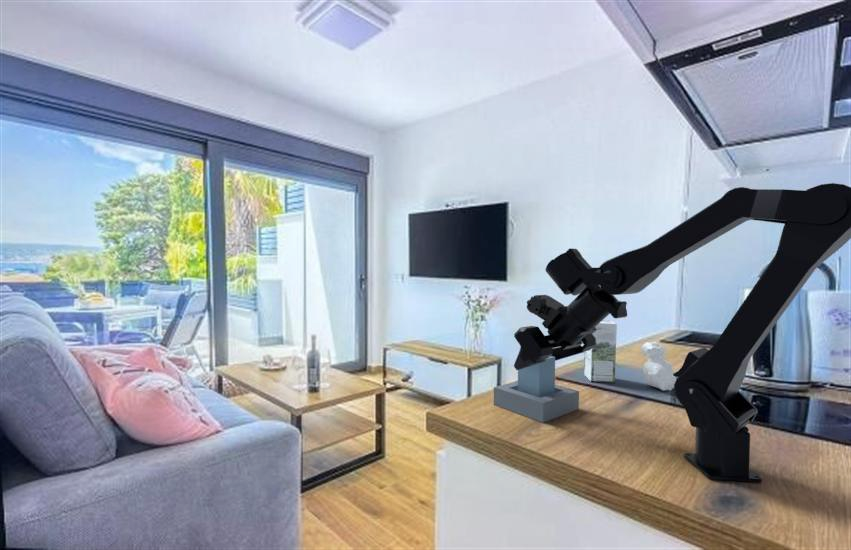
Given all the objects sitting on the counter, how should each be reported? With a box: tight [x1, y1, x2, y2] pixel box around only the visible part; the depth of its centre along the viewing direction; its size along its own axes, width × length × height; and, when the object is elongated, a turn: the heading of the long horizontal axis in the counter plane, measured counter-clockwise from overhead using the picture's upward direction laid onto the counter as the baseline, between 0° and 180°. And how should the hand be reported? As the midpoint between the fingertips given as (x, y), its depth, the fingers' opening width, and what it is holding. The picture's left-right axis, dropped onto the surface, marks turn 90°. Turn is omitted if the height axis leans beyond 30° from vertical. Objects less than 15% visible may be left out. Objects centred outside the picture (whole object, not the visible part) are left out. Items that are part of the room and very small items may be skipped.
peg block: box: [517, 356, 556, 398], centre depth 79 cm, size 5×5×10 cm
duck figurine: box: [640, 341, 677, 392], centre depth 94 cm, size 12×8×11 cm
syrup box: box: [583, 319, 618, 383], centre depth 99 cm, size 6×6×14 cm
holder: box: [493, 380, 580, 424], centre depth 79 cm, size 12×12×4 cm
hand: (530, 364), depth 80 cm, fingers open, 9 cm apart
